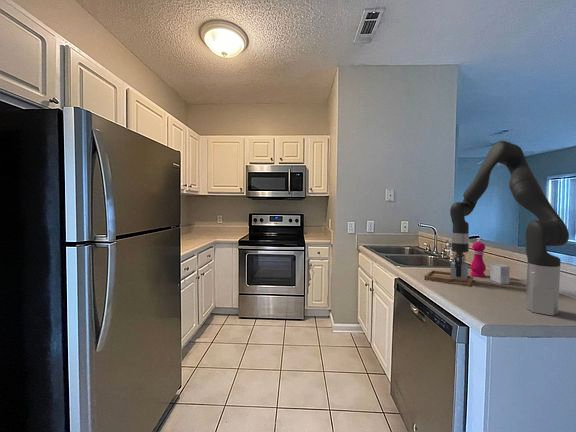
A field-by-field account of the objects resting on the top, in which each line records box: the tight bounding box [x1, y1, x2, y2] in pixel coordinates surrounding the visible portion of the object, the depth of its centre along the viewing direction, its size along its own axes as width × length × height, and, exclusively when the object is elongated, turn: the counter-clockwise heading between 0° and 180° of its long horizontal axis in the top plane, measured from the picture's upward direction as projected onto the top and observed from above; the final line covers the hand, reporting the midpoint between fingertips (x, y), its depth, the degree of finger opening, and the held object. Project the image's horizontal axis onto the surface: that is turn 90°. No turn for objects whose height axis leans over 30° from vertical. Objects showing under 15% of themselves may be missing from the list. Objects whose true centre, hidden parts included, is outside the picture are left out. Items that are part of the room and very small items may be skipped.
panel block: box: [450, 261, 469, 280], centre depth 153 cm, size 4×7×8 cm, turn 54°
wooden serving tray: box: [423, 270, 474, 287], centre depth 156 cm, size 16×20×2 cm
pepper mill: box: [469, 238, 487, 278], centre depth 164 cm, size 7×7×20 cm
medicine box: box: [489, 263, 511, 285], centre depth 152 cm, size 8×4×9 cm, turn 179°
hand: (459, 275), depth 153 cm, fingers closed on panel block, 4 cm apart
